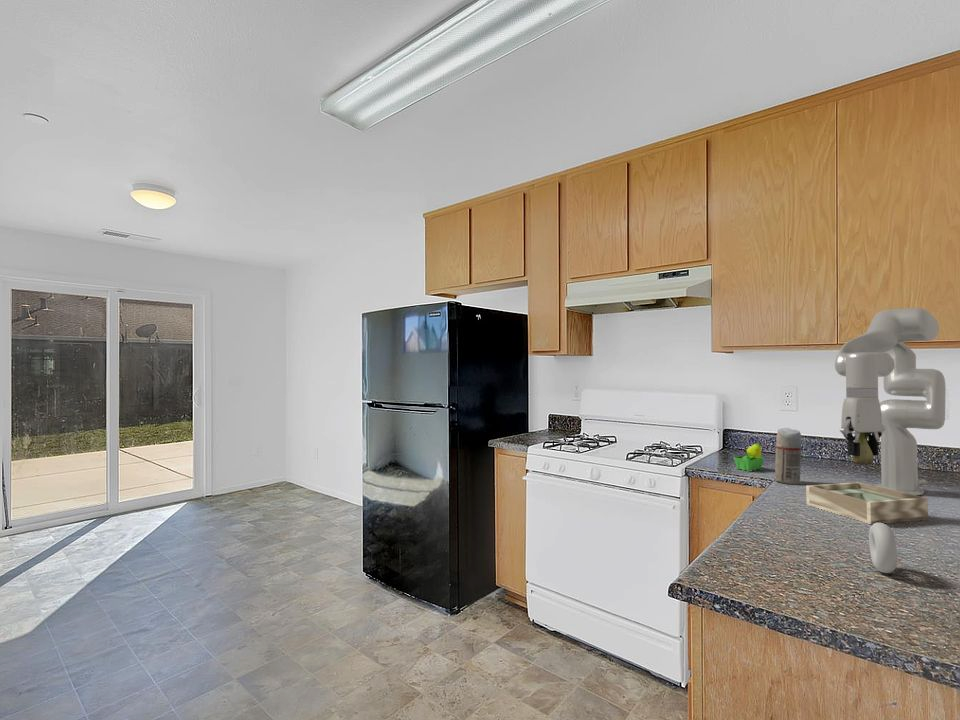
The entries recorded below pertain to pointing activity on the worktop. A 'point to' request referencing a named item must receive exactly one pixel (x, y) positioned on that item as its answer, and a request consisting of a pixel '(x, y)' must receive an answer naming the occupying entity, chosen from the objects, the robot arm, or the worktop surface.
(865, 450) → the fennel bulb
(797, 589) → the worktop surface
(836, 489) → the open wooden box
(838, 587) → the worktop surface
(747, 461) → the fruit basket
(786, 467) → the spray can
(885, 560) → the donut
